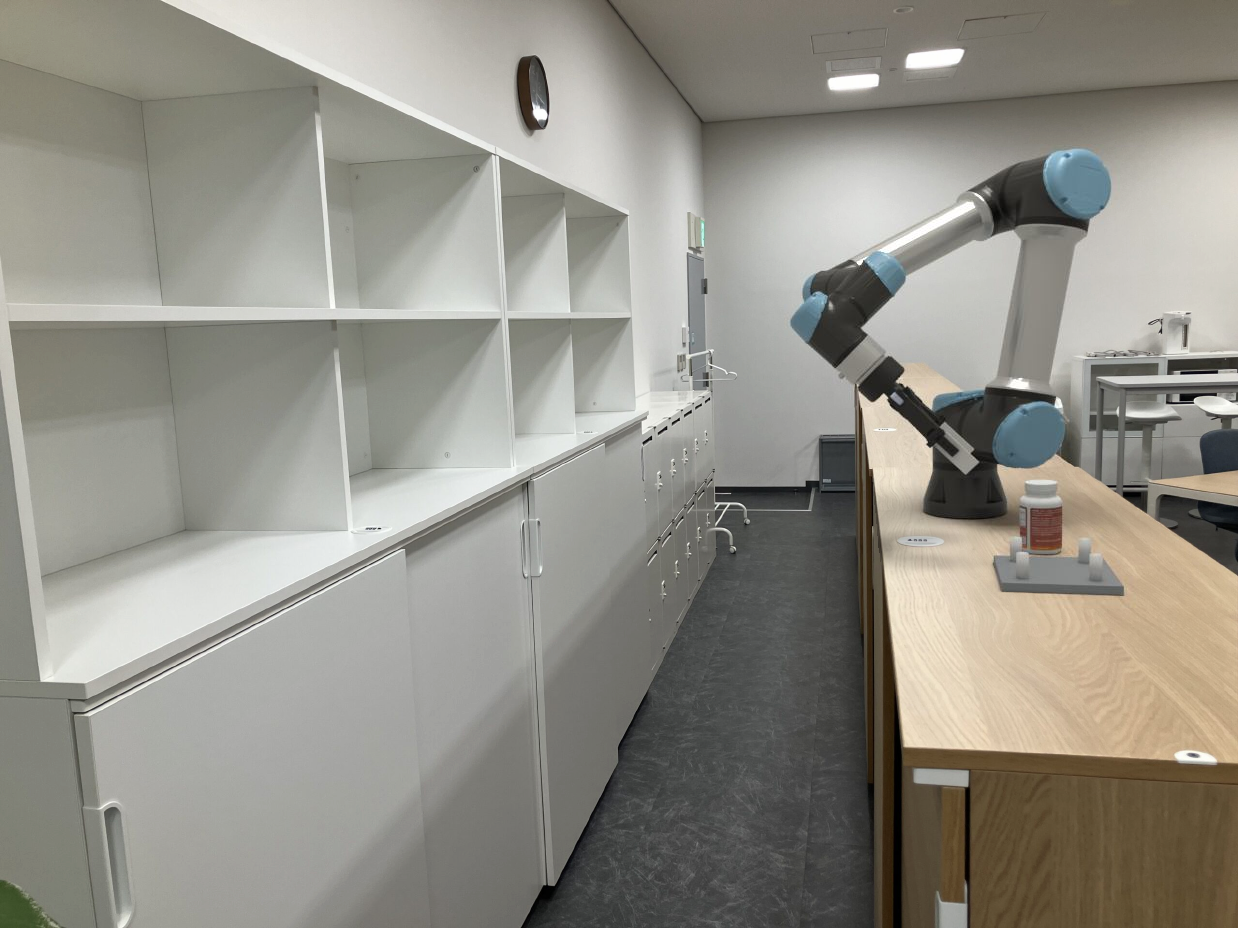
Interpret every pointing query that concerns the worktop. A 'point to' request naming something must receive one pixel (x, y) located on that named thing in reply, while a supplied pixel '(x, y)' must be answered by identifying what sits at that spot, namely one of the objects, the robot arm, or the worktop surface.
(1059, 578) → the peg board
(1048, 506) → the pill bottle
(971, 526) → the worktop surface
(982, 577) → the worktop surface
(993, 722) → the worktop surface
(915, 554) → the worktop surface
